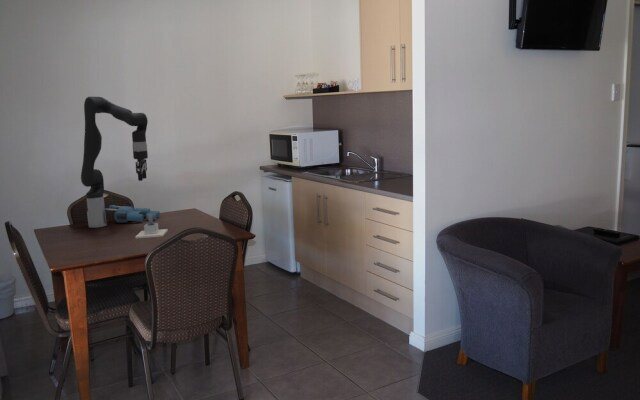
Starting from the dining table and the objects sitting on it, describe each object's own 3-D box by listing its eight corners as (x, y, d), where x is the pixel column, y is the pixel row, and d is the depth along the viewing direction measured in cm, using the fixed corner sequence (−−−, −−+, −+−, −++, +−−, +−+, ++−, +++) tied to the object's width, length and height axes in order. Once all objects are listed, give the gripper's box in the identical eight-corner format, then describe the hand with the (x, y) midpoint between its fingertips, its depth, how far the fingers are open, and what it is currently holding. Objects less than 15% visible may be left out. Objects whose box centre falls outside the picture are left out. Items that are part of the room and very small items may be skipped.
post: (135, 238, 293) (133, 217, 291) (141, 232, 307) (139, 212, 305) (162, 236, 294) (160, 215, 292) (167, 230, 308) (165, 211, 306)
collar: (144, 234, 297) (143, 226, 297) (147, 231, 303) (146, 223, 303) (156, 233, 298) (155, 225, 297) (158, 231, 304) (157, 222, 303)
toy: (153, 211, 333) (101, 208, 330) (153, 226, 334) (101, 223, 332) (161, 205, 355) (112, 201, 353) (161, 219, 356) (112, 216, 354)
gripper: (136, 149, 314) (138, 178, 317) (129, 151, 300) (132, 181, 303) (150, 148, 314) (152, 177, 317) (143, 151, 300) (146, 181, 303)
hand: (142, 179), depth 310 cm, fingers open, 8 cm apart
